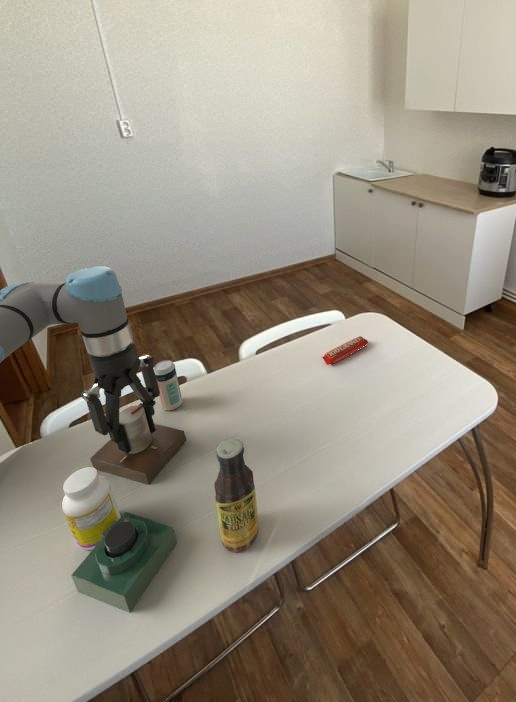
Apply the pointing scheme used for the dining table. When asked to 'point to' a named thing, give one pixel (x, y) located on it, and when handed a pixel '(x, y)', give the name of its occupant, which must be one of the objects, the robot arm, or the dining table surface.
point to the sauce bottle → (235, 497)
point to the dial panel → (140, 456)
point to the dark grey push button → (120, 539)
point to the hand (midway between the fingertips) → (137, 439)
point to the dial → (136, 428)
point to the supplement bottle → (89, 507)
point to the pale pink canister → (168, 385)
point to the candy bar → (344, 350)
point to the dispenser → (126, 564)
